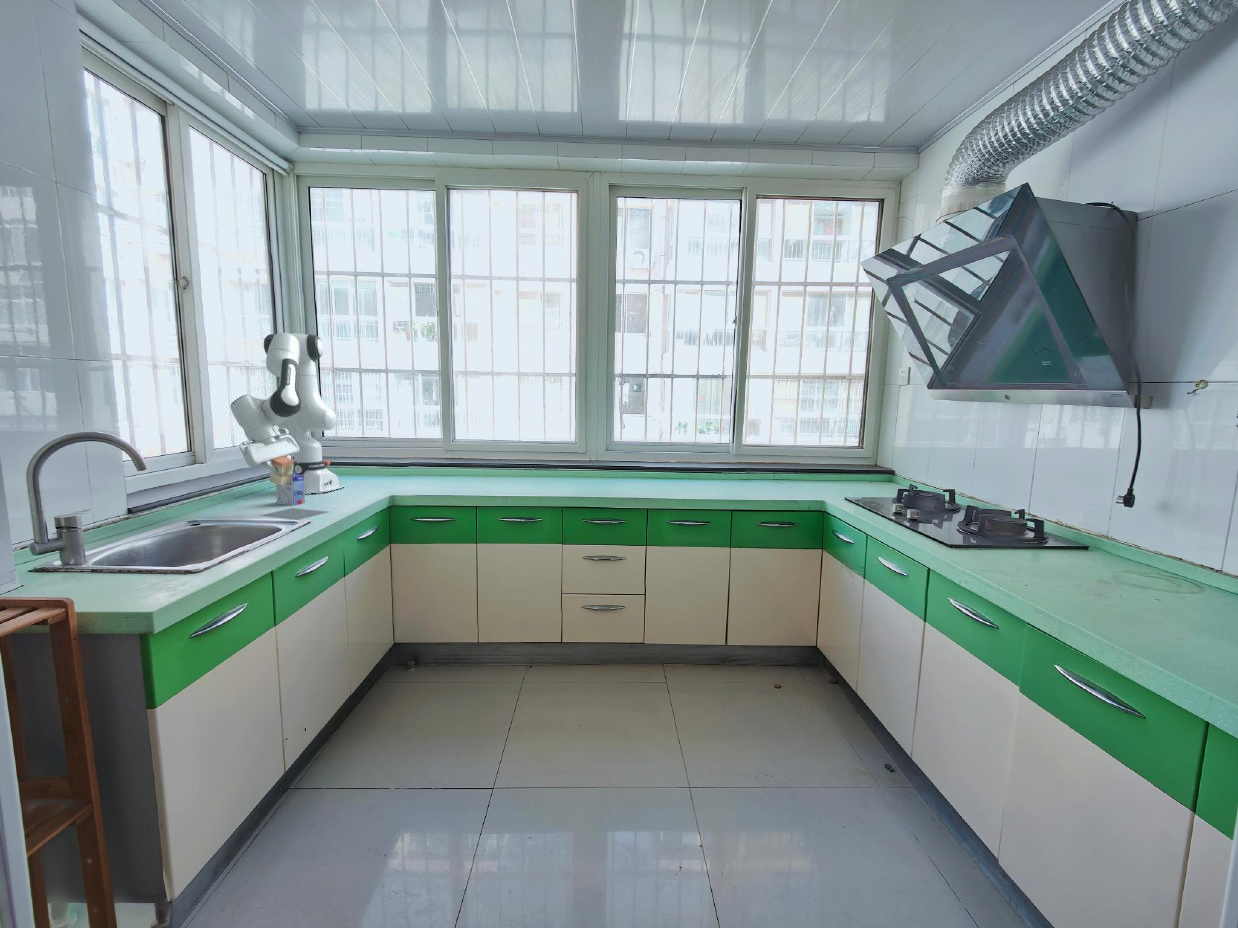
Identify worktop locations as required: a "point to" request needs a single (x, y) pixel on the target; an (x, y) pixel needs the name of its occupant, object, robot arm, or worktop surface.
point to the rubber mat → (294, 513)
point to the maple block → (282, 470)
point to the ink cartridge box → (291, 491)
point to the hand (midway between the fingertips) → (283, 470)
